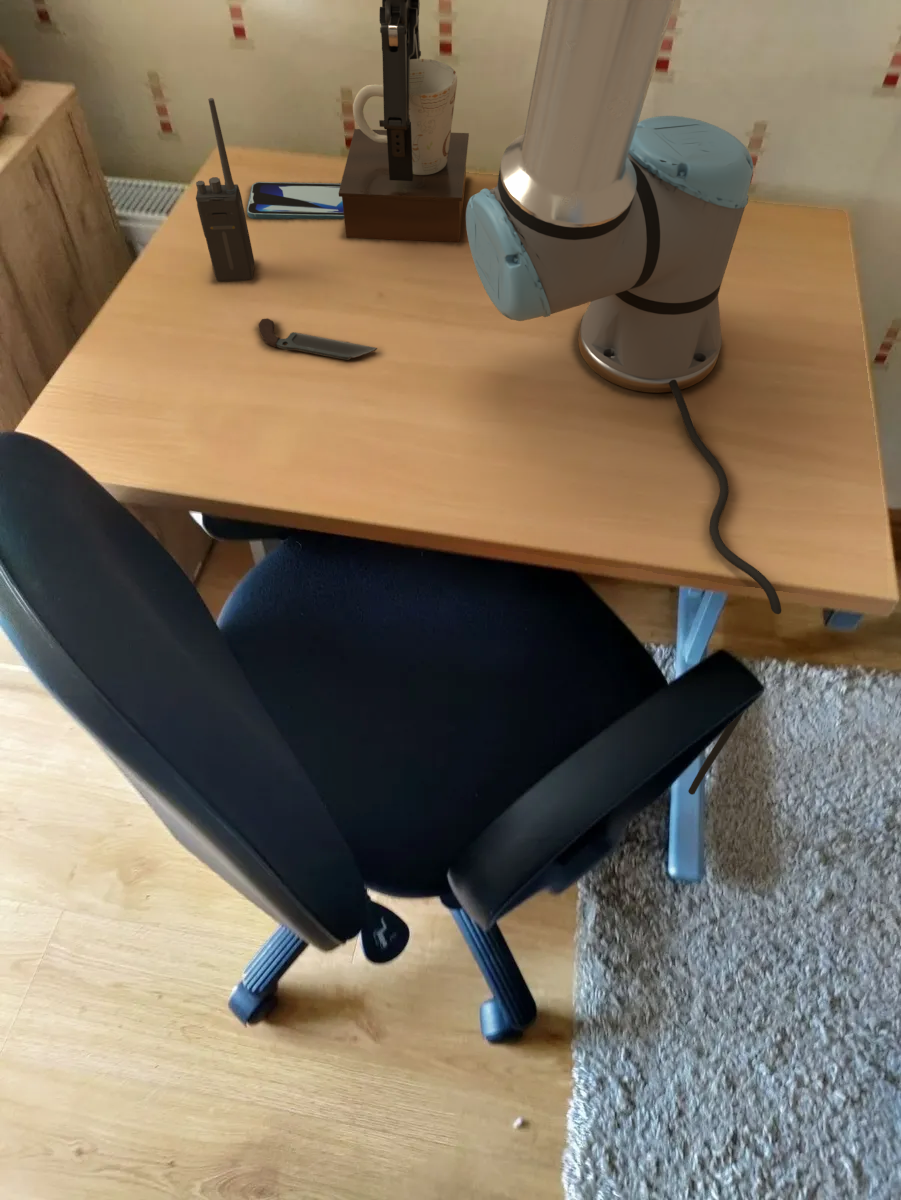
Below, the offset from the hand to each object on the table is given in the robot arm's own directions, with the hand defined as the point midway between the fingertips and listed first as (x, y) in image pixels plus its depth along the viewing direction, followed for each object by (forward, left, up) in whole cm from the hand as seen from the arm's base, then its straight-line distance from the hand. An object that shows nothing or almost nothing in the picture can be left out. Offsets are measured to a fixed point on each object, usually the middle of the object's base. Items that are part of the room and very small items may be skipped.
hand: (405, 154), depth 107 cm
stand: (0, 0, -7) cm, 7 cm away
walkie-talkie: (-15, +19, -7) cm, 25 cm away
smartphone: (0, +13, -8) cm, 15 cm away
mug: (0, 0, -1) cm, 1 cm away
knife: (-27, +8, -7) cm, 29 cm away
